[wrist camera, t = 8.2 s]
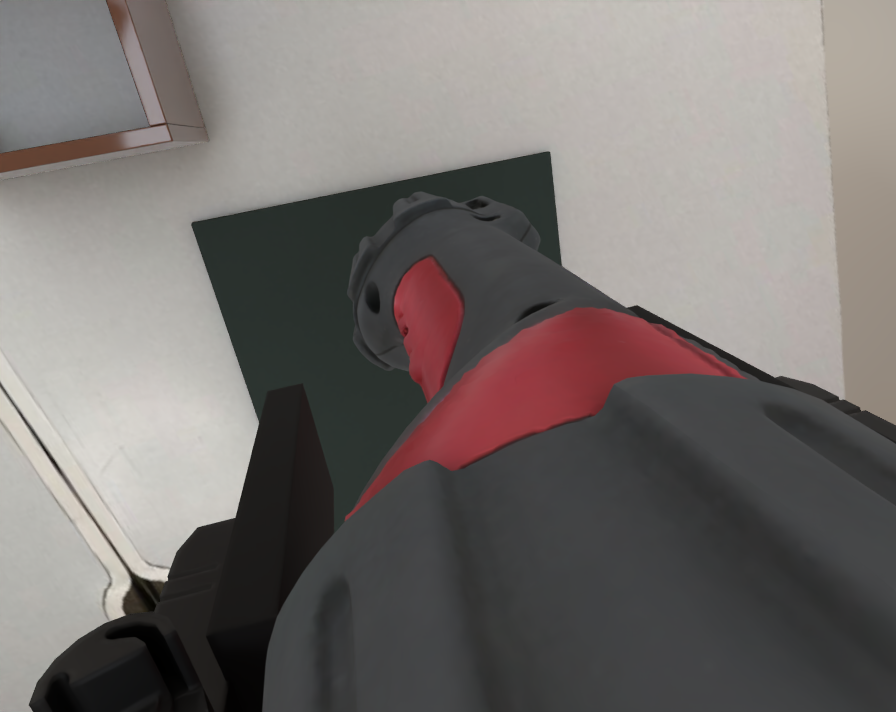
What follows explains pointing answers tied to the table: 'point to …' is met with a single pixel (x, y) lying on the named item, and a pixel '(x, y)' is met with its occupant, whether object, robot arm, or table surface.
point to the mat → (340, 303)
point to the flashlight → (584, 509)
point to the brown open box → (159, 88)
